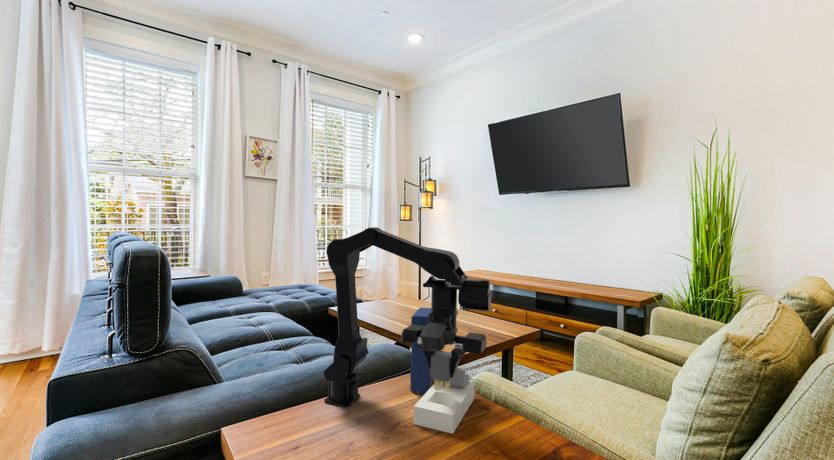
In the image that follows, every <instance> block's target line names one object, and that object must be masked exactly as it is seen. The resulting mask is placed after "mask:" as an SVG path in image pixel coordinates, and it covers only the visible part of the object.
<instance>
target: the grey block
mask: <svg viewBox="0 0 834 460" xmlns="http://www.w3.org/2000/svg"><path fill="white" fill-rule="evenodd" d="M470 376H471V375H469V374H466V370H465V369H461V368H457V369H456V372H455V374H454V377H453V378H451V379H450V386H454V387H459V388H464V387H465V385H466V384H467V383H468V382H470V380H471V377H470ZM443 384H444V385H445V381H443Z"/></svg>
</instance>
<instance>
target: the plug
mask: <svg viewBox="0 0 834 460" xmlns="http://www.w3.org/2000/svg"><path fill="white" fill-rule="evenodd" d="M451 361H452V354H451V351H443V350H441V351H436V352H435V353H434V354H433V355H432V356H431V379H433V380H434V383H435V390H440V386H443V381H445V389H446V390H449V389H450V379H451V373H450V371H451Z"/></svg>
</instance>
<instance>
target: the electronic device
mask: <svg viewBox="0 0 834 460" xmlns="http://www.w3.org/2000/svg"><path fill="white" fill-rule="evenodd" d="M429 313H431V307H419V308H418V309H417V310H415V312H414V313H413V314H412V316H411V322H410V325H412V324H414V325H421V326H426V325H427V323H428V321H429ZM416 344H417V340H416V341H415V342H414V343H413V344H412V343H411V353H410V355H411V359H410V360H411V364H410V380H409V381H410V387H409V388H410V392H412V393H413V394H422V395H424V394H425V393H426V392H427V391H428V390H429V389H430V388H431V387H432V385H433V383H434V382H433V381H434V379H431V370H430V367H429V364H428V361H427V359H426V356H425V354H424V352H423V351H422V350H421V349H420V348H417V347H416Z"/></svg>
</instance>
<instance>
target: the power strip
mask: <svg viewBox="0 0 834 460" xmlns="http://www.w3.org/2000/svg"><path fill="white" fill-rule="evenodd" d="M474 400H475V382H470V381H468V383H467V384H466V385H465V387H464V388H459V387H454V386H450V389H449V390H446V389H445V385H444V384H443V386H440V390H435V382H433V383H432V385H431V387H430V389H429V390H428V391H427V392H426V393H425V394H423V395H422V396H421V398H420V399H419V400H418V401H417V402H416V403H415V404H414V405H413V425H416V426H420V427H424V428H428V429H432V430H436V431H441V432H444V433H448V434H454V433H455V431H456V429H457V428H458V426H459V425H460V424H461V423H460V422H461V421H462V419H463V418H464V417H465V415H466V413H467V412H468V409H469V408H470V407H469V406H471V404H473V402H474Z"/></svg>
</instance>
